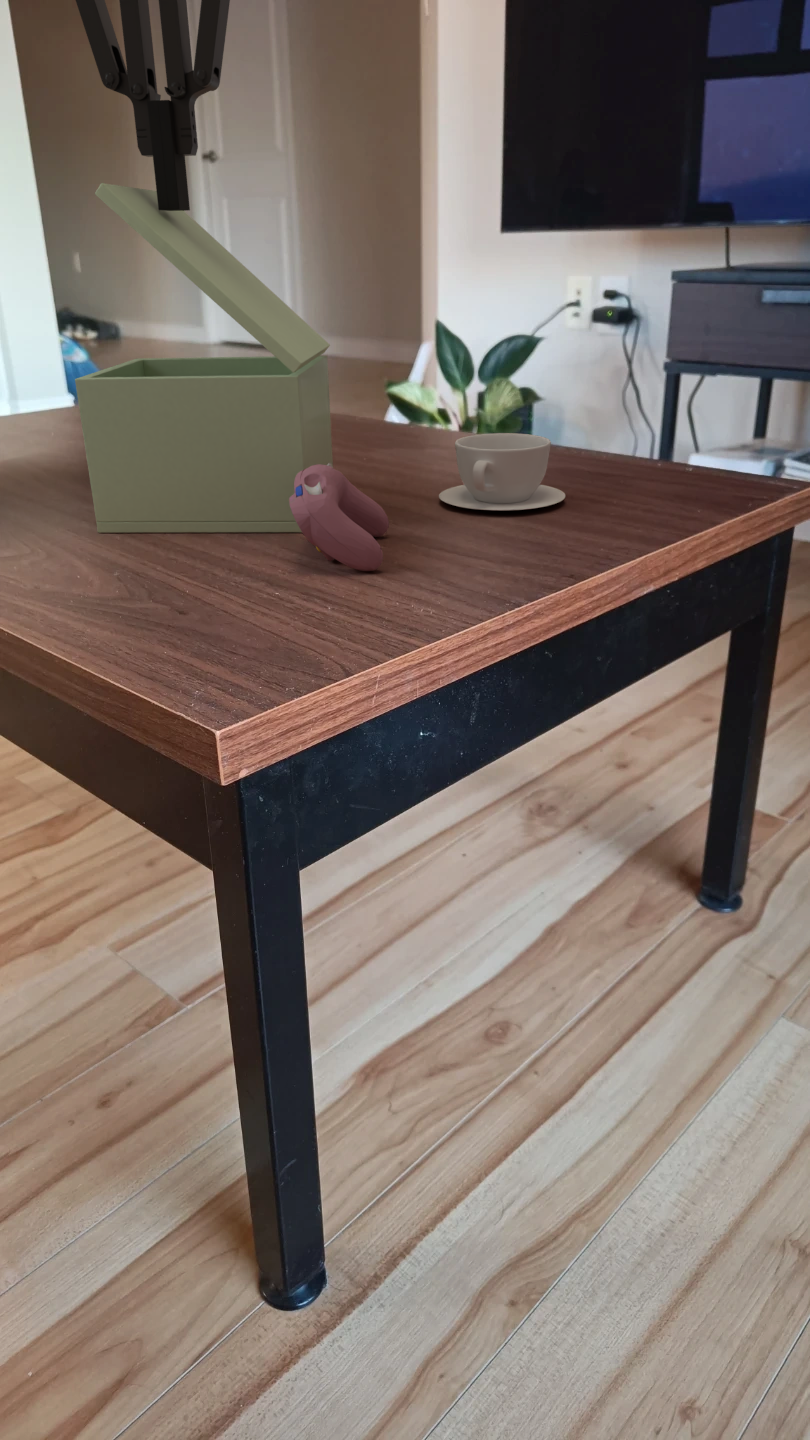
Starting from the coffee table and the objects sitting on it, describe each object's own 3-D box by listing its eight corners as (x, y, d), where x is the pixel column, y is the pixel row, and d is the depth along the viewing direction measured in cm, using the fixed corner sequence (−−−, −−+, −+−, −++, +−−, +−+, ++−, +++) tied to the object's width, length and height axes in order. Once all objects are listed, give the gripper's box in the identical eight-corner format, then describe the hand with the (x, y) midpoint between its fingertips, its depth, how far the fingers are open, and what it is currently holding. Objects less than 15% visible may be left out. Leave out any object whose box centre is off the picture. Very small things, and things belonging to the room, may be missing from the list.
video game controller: (339, 555, 74) (289, 468, 71) (395, 526, 73) (346, 437, 70) (325, 598, 65) (268, 501, 63) (388, 566, 64) (333, 465, 62)
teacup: (468, 484, 88) (468, 427, 86) (581, 493, 84) (584, 434, 82) (417, 510, 80) (416, 448, 78) (540, 521, 76) (542, 456, 74)
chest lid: (94, 193, 66) (101, 182, 65) (157, 201, 78) (163, 191, 78) (293, 373, 70) (301, 363, 69) (323, 353, 82) (330, 344, 81)
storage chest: (97, 532, 75) (74, 378, 71) (153, 491, 88) (136, 358, 83) (307, 532, 74) (298, 375, 70) (334, 491, 86) (327, 355, 82)
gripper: (-1, -246, 59) (64, 210, 69) (221, -259, 58) (254, 206, 68) (50, -197, 66) (102, 213, 76) (249, -207, 65) (276, 209, 75)
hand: (174, 209), depth 72 cm, fingers closed
